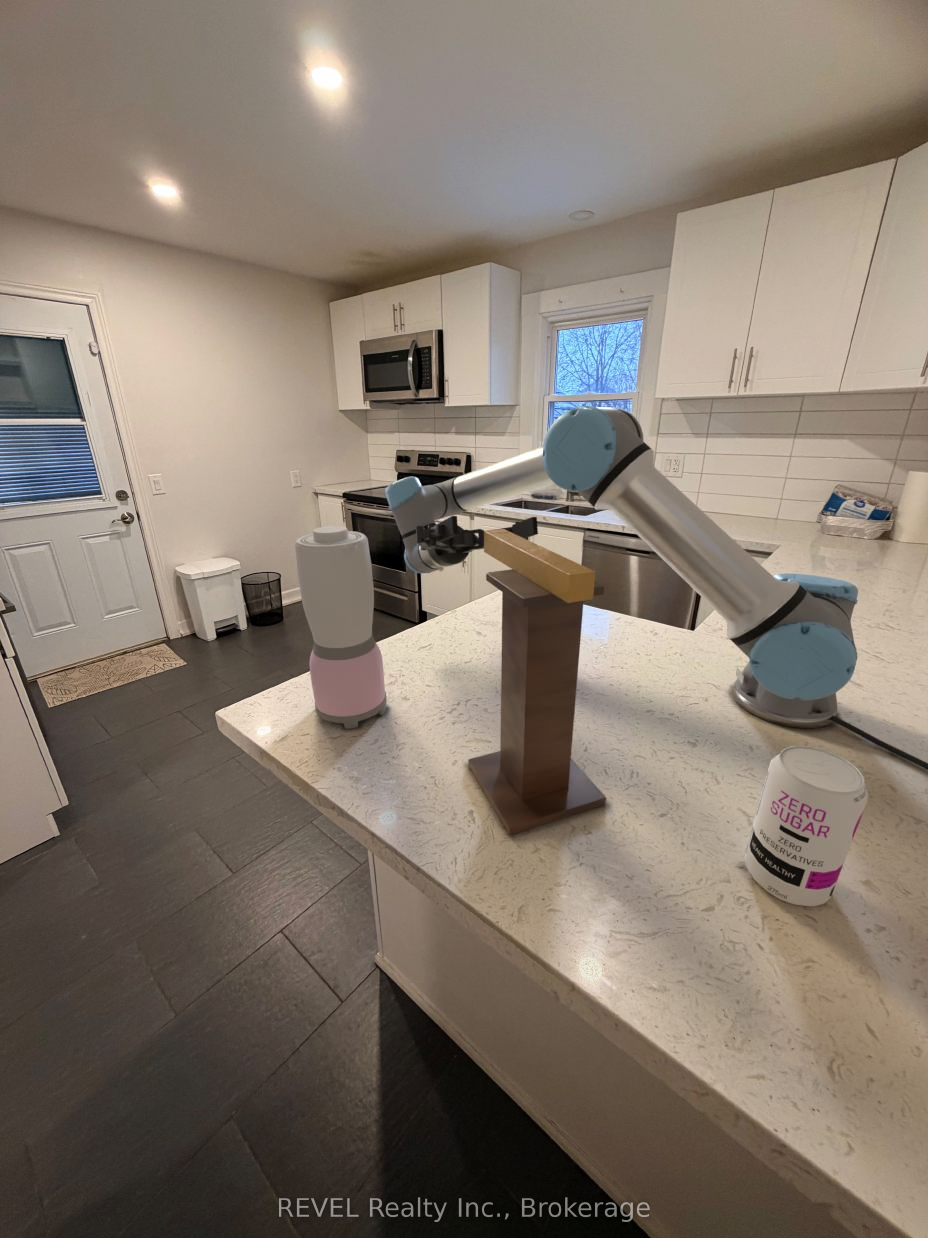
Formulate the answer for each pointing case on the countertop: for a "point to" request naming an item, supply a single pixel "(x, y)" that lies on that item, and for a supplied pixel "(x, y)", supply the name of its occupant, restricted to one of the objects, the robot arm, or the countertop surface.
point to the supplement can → (805, 824)
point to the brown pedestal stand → (536, 709)
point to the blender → (341, 624)
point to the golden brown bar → (541, 565)
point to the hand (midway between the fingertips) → (496, 525)
